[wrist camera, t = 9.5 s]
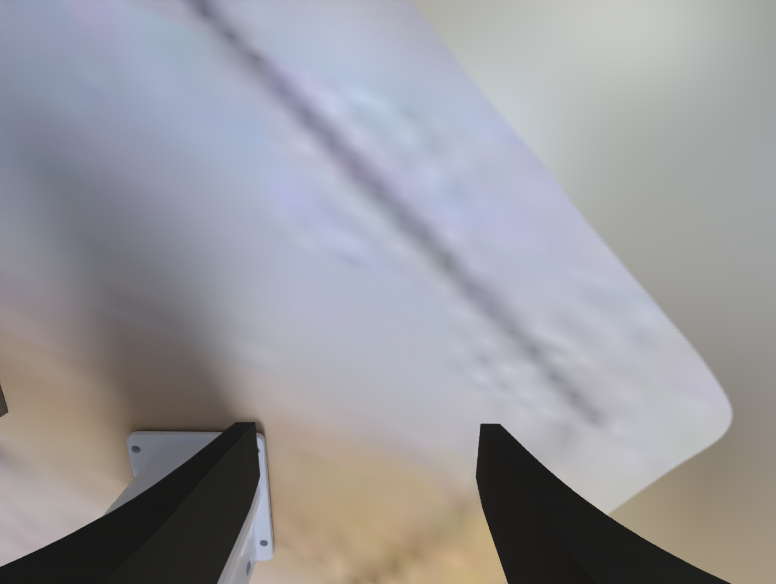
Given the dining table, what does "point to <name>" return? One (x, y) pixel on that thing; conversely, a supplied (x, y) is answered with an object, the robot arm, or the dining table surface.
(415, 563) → the dining table surface
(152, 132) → the dining table surface
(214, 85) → the dining table surface
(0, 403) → the grey flat block
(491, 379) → the dining table surface
